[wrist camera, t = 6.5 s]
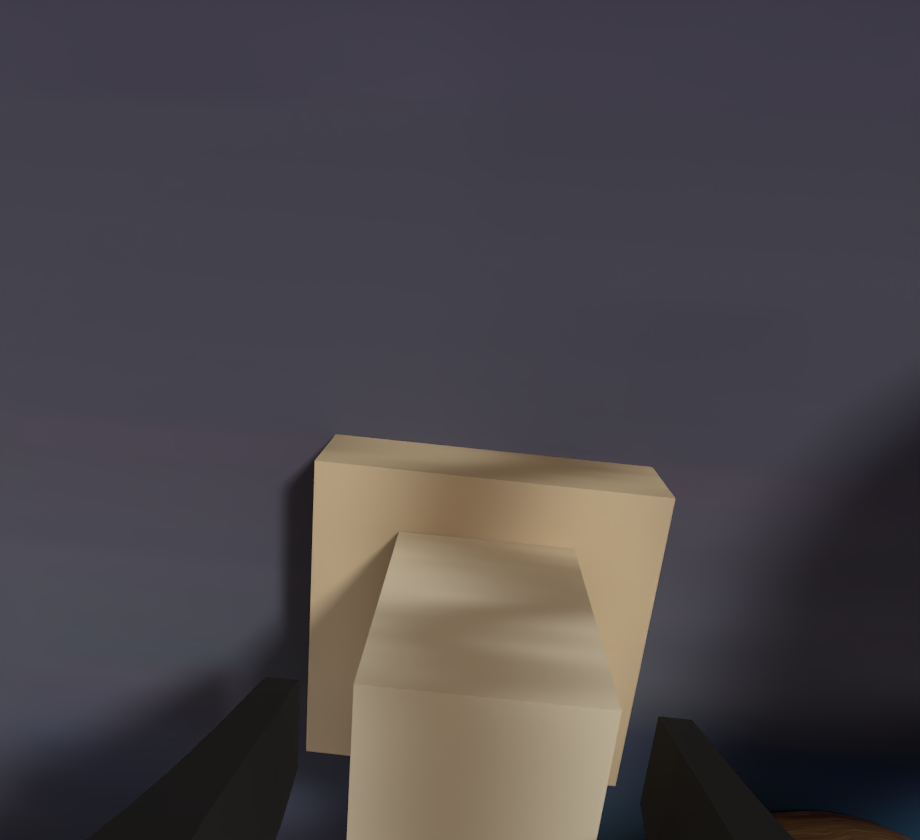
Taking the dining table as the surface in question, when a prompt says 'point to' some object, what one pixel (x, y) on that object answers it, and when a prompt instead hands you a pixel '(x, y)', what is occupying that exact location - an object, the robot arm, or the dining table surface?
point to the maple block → (481, 698)
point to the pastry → (832, 827)
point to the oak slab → (475, 517)
